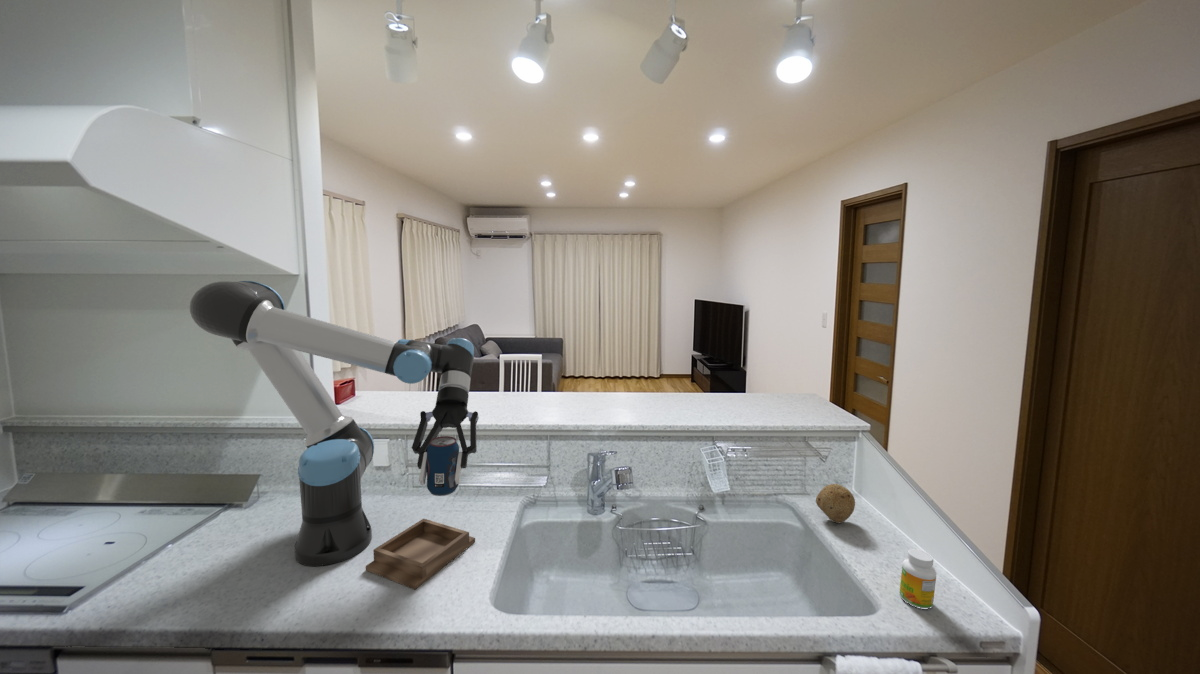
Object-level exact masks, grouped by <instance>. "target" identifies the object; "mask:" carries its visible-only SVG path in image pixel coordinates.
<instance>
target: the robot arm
mask: <svg viewBox="0 0 1200 674" xmlns="http://www.w3.org/2000/svg"><path fill="white" fill-rule="evenodd" d="M285 308H286V307H285V302H284V299H283V298H282V297H281V295H280V294H279V292H277V291H276V290H275V289H274V288H272V287H270V286H269V285H267V284H264V283H261V282H257V281H252V280H240V281H230V280H229V281H225V280H224V281H214V282H211V283H208V284H205V285H204V286H202V287H200V288H199V289H198V290H197V291H196V292H194V294H193V295H192V297H191V299H190V302H189V312H190V315H191V318H192V320H193V322H194V323H195V324H196V325H197V326H198V327H199V328H200V329H202V330H203V331H205V332H207V333H209V334H212V335H214V336H218V337H222V338H227V339H230V340H231V341H232V342H233V344H234V345H235V347H236V348H238V349H242V350H246V351H249V353H250V355H251V356H252V357H253V358H254V360H255V361H256V363H257V365H258V366H259V367H260V369H261V370H262V371H263V373H264V374H265V376H266V377H267V379H268V381H270V383H271V385H272V386H273V387H274V389H275V391H277V394H278V395H279V396H280V397H281V399H282V401H283V402H284V403H285V404H286V406H287V408H288V409H289V411H290V412H291V413H292V415H293V416H294V417H295V419H296V420H297V422H298V423H299V425H300V426H301V428H302V429H303V430H304V433H306V436H307V437H306V441H305V442H304V445H305V447H306V449H305V450H304V451H303V452H302V453H301V455H300V457H299V459H298V467H297V470H298V471H297V474H298V479H299V480H298V481H299V490H300V491H299V492H300V503H301V504H300V505H301V517H302V520H301V525H300V528H299V531H298V535H297V539H296V541H295V544H294V558H295V560H296V562H297V563H299V564H300V565H304V566H307V567H308V566H309V567H321V566H328V565H333V564H336V563H337V564H338V563H341V562H343V561H345V560H348V559H351V558H352V557H354V556H356V555H357V554H359V553H361V552H362V551H364V550H365V549H366V548H367V547H368V546H369V544H370V543H371V541H372V538H373V536H372V535H373V533H372V531H373V530H372V525H371V524H370V521H369V519H368V517H367V515H366V514H365V511H364V509H363V503H362V483H361V481H362V478H363V475H364V474H365V472H366V470H367V468H368V466H369V465H370V464H371V462H372V459H373V457H374V453H375V441H374V439H373V437H372V435H371V433H370V432H369V431H368V430H366V429H365V428H364V427H361V426H359V425H358V423H357V422H356V421H355V419H354V417H352V416H345V415H343V413H342V412H341V411H340V409H339V407H338V406H337V404H336V403H335V401H334V400H333V398H332V396H331V395H330V393H329V392H328V391H327V388H325V386H324V385H323V383H322V382H321V380H320V378H319V377H318V375H317V374H316V373H315V371H314V369H313V368H312V366H311V365H310V363H309V362H308V360H307V358H306V357H305V356H304V354H303V353H306V354H309V355H313V356H318V357H321V358H325V359H329V360H333V361H337V362H340V363H344V364H347V365H352V366H356V367H359V368H363V369H368V370H370V371H371V370H372V371H375V372H379V373H383V374H385V375H390V376H393V377H397V379H398V380H400V381H401V382H402V383H405V384H410V385H411V384H418V383H420V382H421V381H423V380H425V378H426V377H428V375H429V373H437V374H438V373H439V374H440V379H439V385H438V391H437V395H436V401H435V405H434V408H433V409H432V411H428V412H426V411H425V410H422V411H420V413H419V415H420V421H419V424H418V427H417V431H416V434H415V437H414V438H413V441H412V442H413V443H412V445H411V449H412V452H413V453H414V454H416V455H417V454H418V458H417V463H416V464H417V468H418V469H419V470H420V472H419V478H418V481H419V483H420V485H426V481H427V448H428V446H429V444H430V441H431V440H432V439H433V438H436V437H439V434H440V433H441V432H442V430H443V429H446V428H451V429H456V432H457V433H456V434H457V436H458V439H459V440H458V441H459V443H460V447H461V451H459V454H458V460H457V467H456V474H455V482H456V484H458V485H460V483H461V477H462V469H466V468H467V466H468V465H467V464H468V458H469V457H468V456H469V455H470V454H476V453H477V446H478V445H477V423H478V422H479V413H478V411H473V412H472V411H469V410H468V403H469V393H470V389H471V379H472V373H473V366H474V359H475V358H474V355H475V347H474V344H473V343H472V342H471V341H470V340H469V339H466V338H462V337H457V338H454V337H453V338H451V339H449V340H448V341H447V343H446V344H437V343H434V342H433V343H432V342H426V341H425V342H424V341H420V340H415V339H404V338H400V339H398V340H397V342H396V341H393V340H390V339H386V338H384V337H380V336H377V335H373V334H370V333H369V334H368V333H365V332H362V331H359V330H354V329H351V328H347V327H344V326H340V325H338V324H333V323H330V322H327V321H323V320H320V319H316V318H314V317H313V318H312V317H311V316H306V315H302V314H298V313H296V312H292V311H289V310H286V309H285ZM432 418H434V420H435V421H434V423H433V426H432V427H431V430H430V431H429V433H428V435H427V436H426V438H425V434H426V432H427V428H428V425H429V424H428V423H429V422H430V421H431V419H432ZM466 418H468V421H469V422H470V423H469V424H470V426H469V432H470V434H469V436H470V439H469V441H470V442H469V443H470V445H469V446H467V441H466V438H465V435H464V431H463V428H462V423H463V422H464V421H465V420H466ZM424 438H425V440H424Z"/></svg>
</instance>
